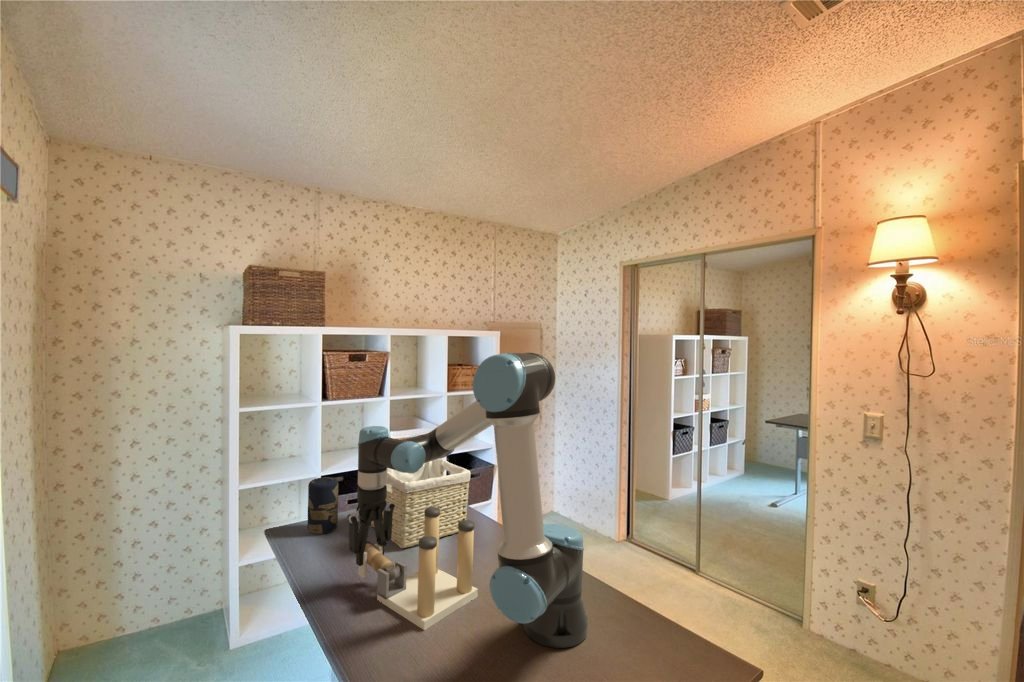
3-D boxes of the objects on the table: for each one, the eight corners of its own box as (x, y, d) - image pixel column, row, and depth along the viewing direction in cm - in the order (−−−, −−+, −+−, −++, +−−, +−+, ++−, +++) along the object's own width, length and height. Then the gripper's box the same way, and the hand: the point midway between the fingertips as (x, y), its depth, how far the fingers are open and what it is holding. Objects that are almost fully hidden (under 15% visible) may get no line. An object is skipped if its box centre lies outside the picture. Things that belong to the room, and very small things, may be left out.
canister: (330, 536, 150) (332, 482, 150) (301, 535, 150) (303, 481, 150) (341, 524, 160) (343, 473, 159) (314, 523, 160) (316, 472, 160)
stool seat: (477, 596, 119) (480, 523, 118) (422, 631, 104) (424, 548, 104) (431, 572, 130) (433, 505, 130) (375, 601, 115) (377, 525, 115)
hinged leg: (400, 581, 117) (403, 566, 117) (387, 587, 114) (389, 572, 113) (368, 552, 126) (370, 538, 125) (354, 558, 123) (357, 543, 122)
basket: (430, 507, 178) (432, 451, 178) (472, 530, 159) (474, 468, 158) (364, 525, 160) (366, 463, 160) (402, 554, 140) (404, 483, 140)
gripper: (390, 475, 131) (388, 556, 131) (335, 490, 117) (332, 580, 118) (407, 481, 126) (404, 565, 126) (351, 497, 113) (349, 591, 113)
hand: (370, 572), depth 122 cm, fingers closed on hinged leg, 4 cm apart
